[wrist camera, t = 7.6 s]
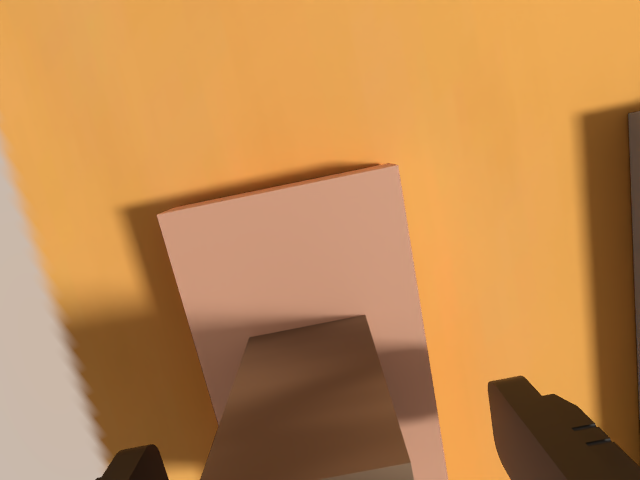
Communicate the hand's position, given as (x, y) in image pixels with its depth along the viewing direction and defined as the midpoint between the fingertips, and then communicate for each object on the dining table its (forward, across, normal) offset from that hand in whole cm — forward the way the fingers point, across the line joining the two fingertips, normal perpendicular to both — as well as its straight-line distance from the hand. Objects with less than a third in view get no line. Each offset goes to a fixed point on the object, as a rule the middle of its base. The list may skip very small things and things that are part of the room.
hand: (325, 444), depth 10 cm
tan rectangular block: (+3, 0, 0) cm, 3 cm away
